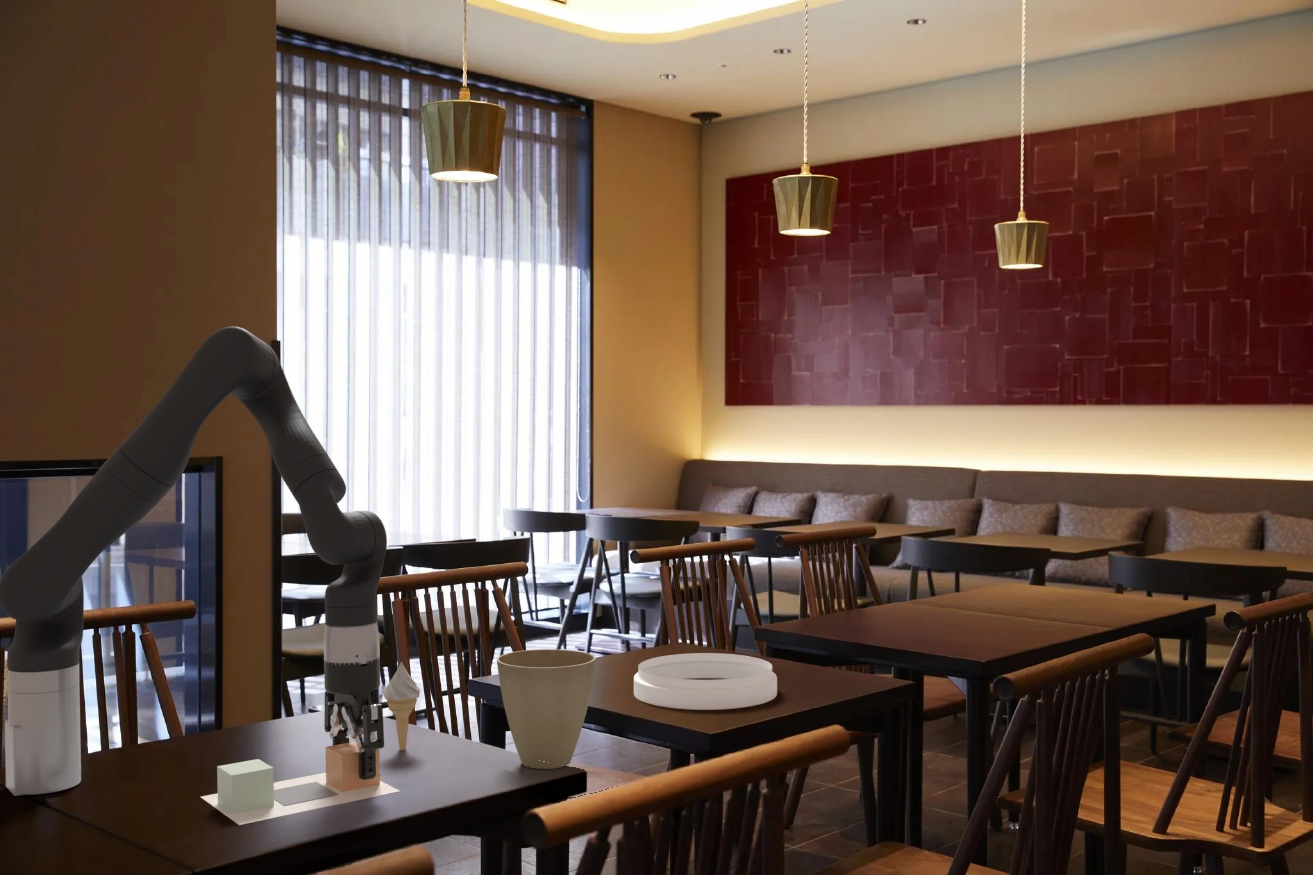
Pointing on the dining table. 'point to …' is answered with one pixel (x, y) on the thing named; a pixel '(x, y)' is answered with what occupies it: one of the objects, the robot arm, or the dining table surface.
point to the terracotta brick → (347, 767)
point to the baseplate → (302, 798)
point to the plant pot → (546, 702)
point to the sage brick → (245, 786)
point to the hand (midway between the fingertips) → (354, 771)
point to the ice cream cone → (401, 701)
